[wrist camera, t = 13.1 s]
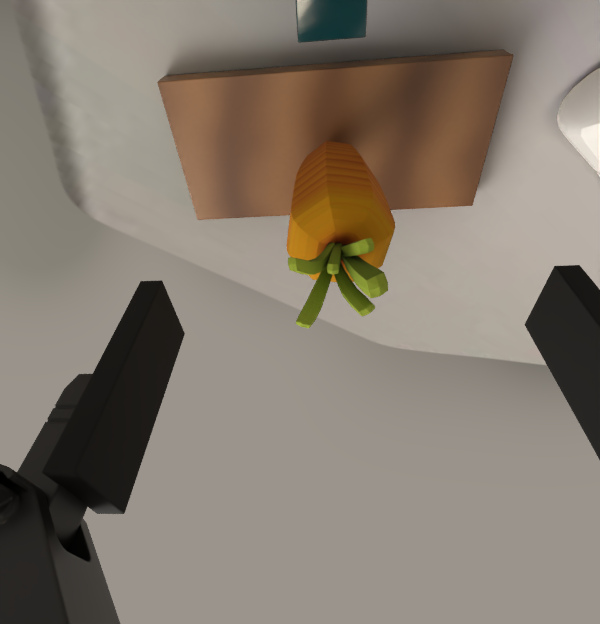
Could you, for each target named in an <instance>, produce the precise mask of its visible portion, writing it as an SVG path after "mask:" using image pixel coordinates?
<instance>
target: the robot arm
mask: <svg viewBox="0 0 600 624" xmlns="http://www.w3.org/2000/svg"><path fill="white" fill-rule="evenodd" d="M525 326H526V328H527V330H528V331H529V333H530V335H531V337H532V339H533V340H534V342H535V344H536V346H537V348H538V349H539V351H540V353H541V355H542V357H543V358H544V360H545V362H546V364H547V366H548V367H549V369H550V371H551V373H552V375H553V376H554V378H555V380H556V382H557V384H558V385H559V387H560V389H561V391H562V392H563V394H564V396H565V398H566V400H567V402H568V403H569V405H570V407H571V409H572V411H573V412H574V414H575V416H576V418H577V420H578V421H579V423H580V425H581V427H582V429H583V430H584V432H585V434H586V436H587V437H588V439H589V441H590V443H591V445H592V447H593V448H594V450H595V452H596V454H597V456H598V458H599V459H600V290H599V288H598V287H597V286H596V285H595V283H594V282H593V281H592V280H591V279H590V277H589V276H588V275H587V274H586V273H585V271H584V270H583V269H582V268H581V267H580V265H573V266H554V268H553V270H552V272H551V274H550V276H549V278H548V280H547V282H546V284H545V286H544V288H543V290H542V292H541V294H540V296H539V298H538V300H537V302H536V304H535V306H534V307H533V309H532V311H531V313H530V315H529V317H528V319H527V321H526V323H525ZM183 337H184V331H183V329H182V326H181V324H180V322H179V319H178V317H177V315H176V312H175V310H174V308H173V305H172V303H171V301H170V299H169V296H168V294H167V291H166V289H165V286H164V284H163V282H162V281H141V282H140V284H139V286H138V288H137V290H136V292H135V294H134V296H133V298H132V299H131V301H130V303H129V305H128V307H127V309H126V311H125V313H124V315H123V317H122V319H121V321H120V323H119V324H118V326H117V328H116V330H115V332H114V334H113V336H112V338H111V340H110V342H109V344H108V346H107V348H106V349H105V351H104V353H103V355H102V357H101V359H100V361H99V363H98V365H97V367H96V369H95V371H94V373H93V374H79V375H78V376H77V377H76V378H75V379H74V380H73V381H72V382H71V383H70V384H69V385H68V386H67V387H66V388H65V389H64V391H63V392H62V394H61V396H60V398H59V400H58V401H57V403H56V407H55V408H54V409H53V410H52V412H51V414H50V416H49V417H48V422H45V424H44V426H43V428H42V429H41V431H40V433H39V435H38V437H37V438H36V440H35V442H34V444H33V446H32V447H31V449H30V451H29V453H28V454H27V456H26V458H25V460H24V461H23V463H22V465H21V467H20V468H19V470H18V472H15V471H14V470H12V469H11V468H9V467H7V466H4V465H1V464H0V624H120V622H119V619H118V616H117V613H116V610H115V607H114V604H113V601H112V598H111V595H110V592H109V589H108V586H107V583H106V580H105V577H104V574H103V571H102V568H101V565H100V562H99V559H98V556H97V553H96V550H95V547H94V544H93V542H92V538H91V535H90V533H89V529H88V527H87V523H86V522H85V521H84V519H83V516H84V514H85V511H86V509H87V506H88V507H89V508H90V509H92V510H93V511H95V512H96V513H97V514H100V513H101V514H124V513H125V510H126V507H127V504H128V501H129V498H130V495H131V492H132V489H133V486H134V483H135V480H136V477H137V474H138V471H139V468H140V465H141V462H142V459H143V456H144V453H145V450H146V447H147V444H148V441H149V438H150V435H151V432H152V429H153V426H154V423H155V420H156V417H157V414H158V411H159V408H160V406H161V403H162V399H163V397H164V394H165V391H166V388H167V384H168V382H169V378H170V376H171V373H172V370H173V367H174V364H175V361H176V358H177V355H178V352H179V349H180V346H181V343H182V340H183Z"/></svg>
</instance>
